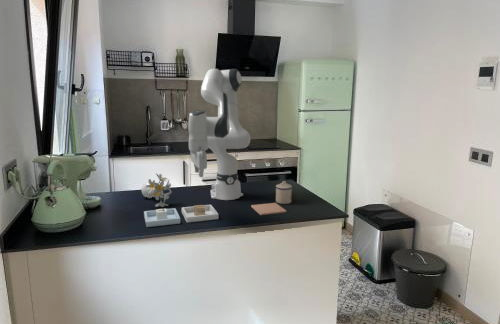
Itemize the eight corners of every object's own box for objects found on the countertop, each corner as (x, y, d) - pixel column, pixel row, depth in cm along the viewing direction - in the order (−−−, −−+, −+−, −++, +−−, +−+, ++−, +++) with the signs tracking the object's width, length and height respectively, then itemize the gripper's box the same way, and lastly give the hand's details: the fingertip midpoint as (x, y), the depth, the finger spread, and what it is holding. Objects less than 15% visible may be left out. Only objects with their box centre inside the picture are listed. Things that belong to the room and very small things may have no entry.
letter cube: (156, 218, 175) (156, 209, 174) (166, 217, 176) (165, 208, 175) (157, 221, 171) (157, 212, 170) (167, 220, 172) (166, 211, 171)
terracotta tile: (251, 206, 195) (251, 205, 195) (275, 204, 200) (275, 202, 199) (260, 215, 182) (260, 213, 182) (286, 212, 187) (286, 210, 187)
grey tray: (181, 213, 184) (181, 207, 183) (211, 210, 189) (210, 204, 188) (186, 223, 170) (186, 217, 170) (218, 220, 175) (218, 214, 174)
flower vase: (143, 210, 209) (157, 211, 188) (133, 179, 207) (145, 176, 186) (164, 202, 216) (180, 202, 195) (154, 172, 214) (169, 169, 193)
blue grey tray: (144, 217, 178) (144, 211, 177) (175, 213, 183) (175, 208, 182) (146, 228, 164) (146, 222, 164) (180, 224, 169) (180, 218, 169)
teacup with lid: (294, 203, 201) (294, 182, 198) (278, 204, 198) (279, 184, 196) (286, 197, 212) (286, 177, 210) (271, 198, 210) (271, 178, 207)
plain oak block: (194, 214, 181) (193, 205, 180) (203, 213, 182) (202, 204, 181) (195, 217, 177) (195, 208, 176) (205, 216, 178) (205, 207, 177)
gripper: (210, 148, 164) (210, 179, 167) (200, 142, 183) (200, 169, 186) (196, 149, 162) (196, 180, 165) (187, 142, 181) (188, 170, 183)
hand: (198, 174), depth 175 cm, fingers open, 8 cm apart
